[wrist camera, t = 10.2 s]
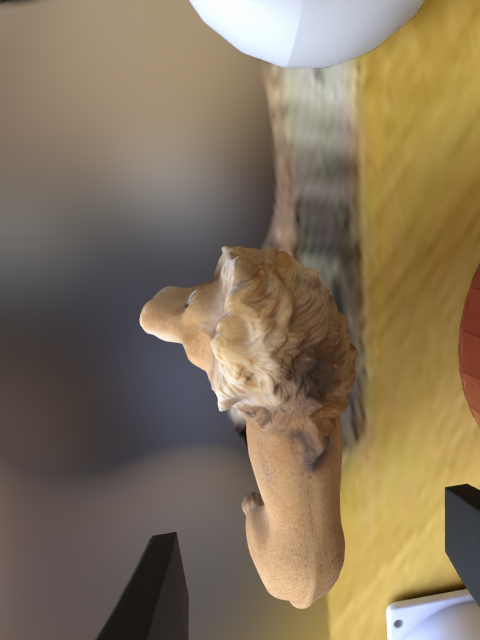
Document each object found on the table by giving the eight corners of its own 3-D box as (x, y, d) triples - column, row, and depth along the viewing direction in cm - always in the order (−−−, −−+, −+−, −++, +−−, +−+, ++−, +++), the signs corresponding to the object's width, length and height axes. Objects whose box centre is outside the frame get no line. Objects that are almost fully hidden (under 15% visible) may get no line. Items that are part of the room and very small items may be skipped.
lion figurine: (158, 258, 16) (95, 292, 7) (283, 221, 16) (380, 208, 7) (253, 546, 19) (292, 812, 10) (355, 514, 19) (480, 751, 10)
